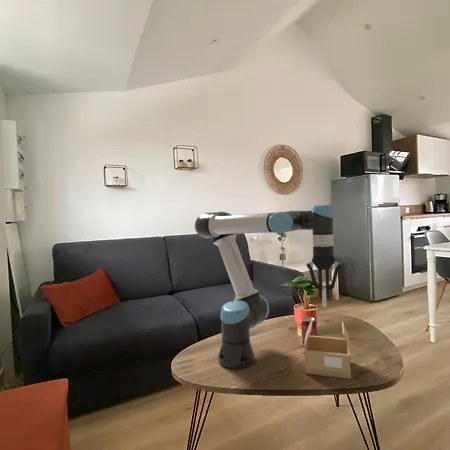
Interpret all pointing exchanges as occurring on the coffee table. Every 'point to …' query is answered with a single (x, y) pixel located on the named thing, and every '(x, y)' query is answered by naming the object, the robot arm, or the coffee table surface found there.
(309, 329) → the flap
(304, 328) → the soda can
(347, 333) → the flap
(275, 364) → the coffee table surface
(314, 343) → the carton
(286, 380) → the coffee table surface
